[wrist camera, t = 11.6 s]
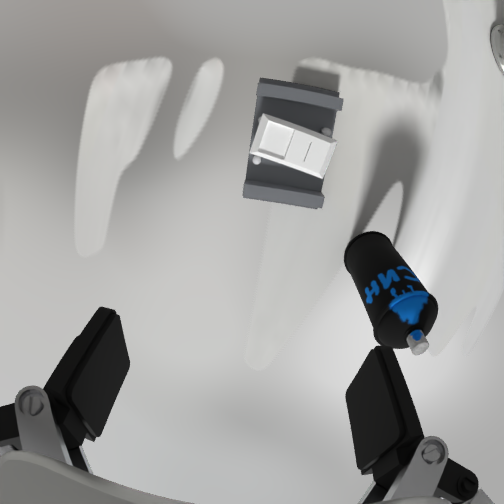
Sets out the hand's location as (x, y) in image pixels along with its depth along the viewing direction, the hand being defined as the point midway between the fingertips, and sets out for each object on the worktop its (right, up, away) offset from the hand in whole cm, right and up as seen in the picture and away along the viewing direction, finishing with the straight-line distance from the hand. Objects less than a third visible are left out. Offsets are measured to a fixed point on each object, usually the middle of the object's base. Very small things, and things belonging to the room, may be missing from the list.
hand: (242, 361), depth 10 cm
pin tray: (+5, +18, +25) cm, 31 cm away
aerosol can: (+18, +3, +32) cm, 37 cm away
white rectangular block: (+5, +17, +22) cm, 28 cm away
